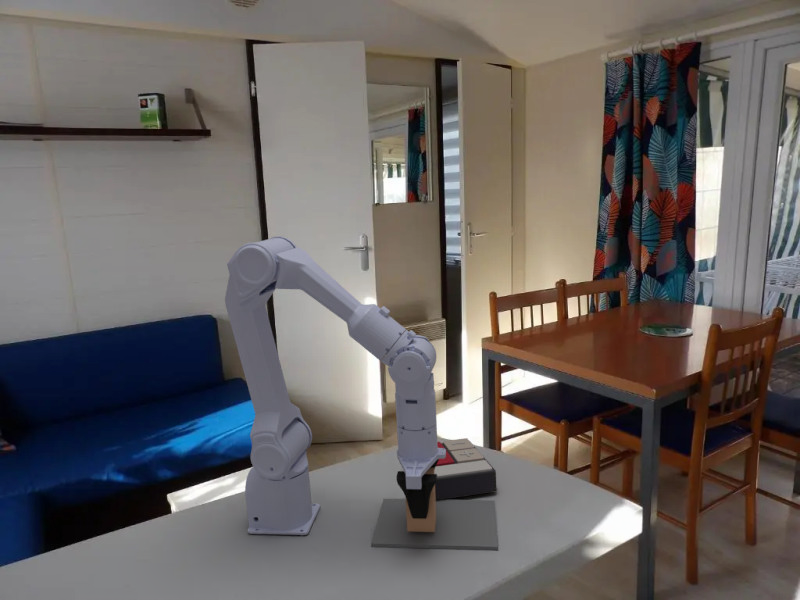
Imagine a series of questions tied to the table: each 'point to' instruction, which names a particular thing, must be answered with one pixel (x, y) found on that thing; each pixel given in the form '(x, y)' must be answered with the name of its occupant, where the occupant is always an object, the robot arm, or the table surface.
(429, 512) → the block
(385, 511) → the mat
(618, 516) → the table surface
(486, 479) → the calculator
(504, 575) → the table surface
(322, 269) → the robot arm
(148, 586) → the table surface
